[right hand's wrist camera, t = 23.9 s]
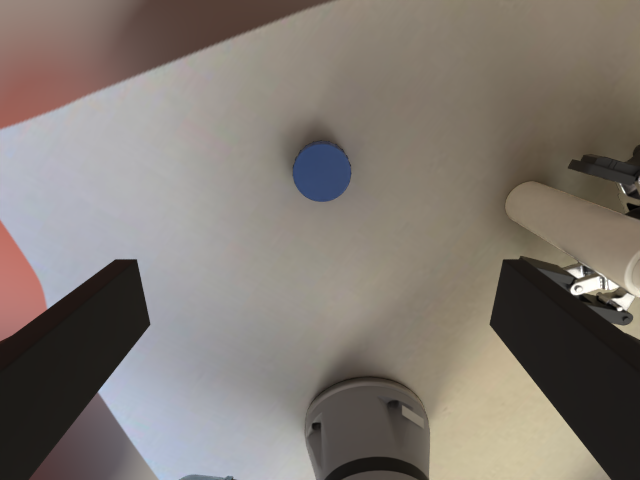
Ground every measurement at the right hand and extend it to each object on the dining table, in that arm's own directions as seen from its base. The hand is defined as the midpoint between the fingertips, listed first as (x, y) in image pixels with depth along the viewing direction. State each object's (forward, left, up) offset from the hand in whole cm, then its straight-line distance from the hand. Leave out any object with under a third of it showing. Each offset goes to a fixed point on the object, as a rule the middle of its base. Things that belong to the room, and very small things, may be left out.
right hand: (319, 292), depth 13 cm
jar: (-10, -17, -21) cm, 29 cm away
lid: (+1, 0, -19) cm, 19 cm away
